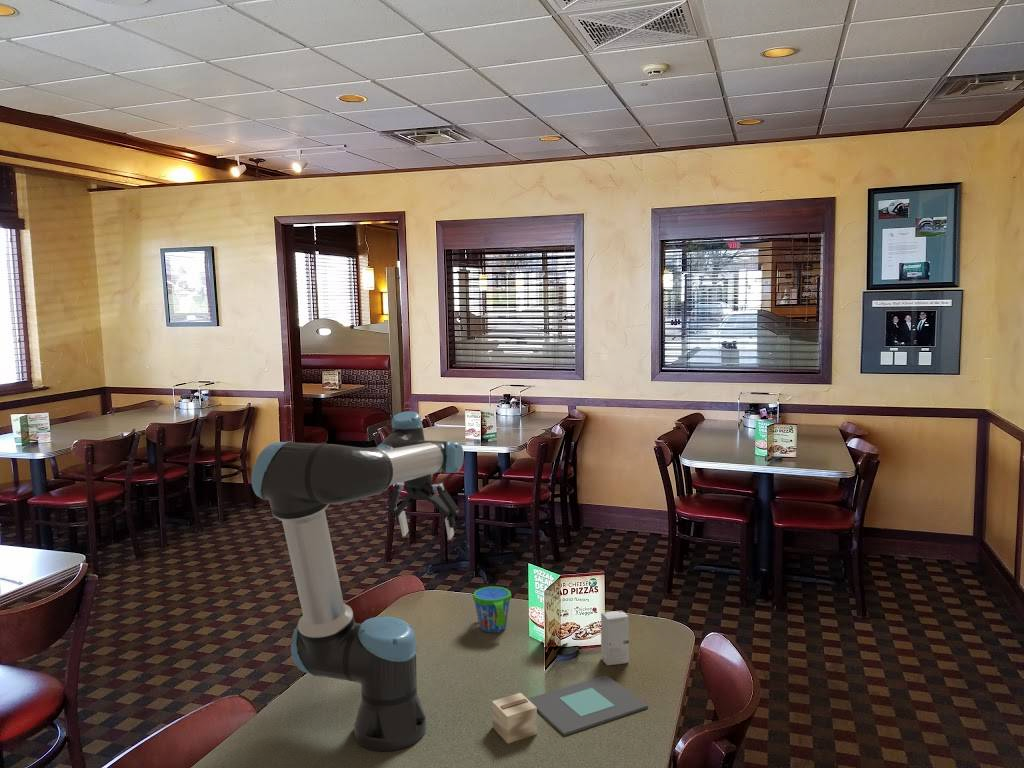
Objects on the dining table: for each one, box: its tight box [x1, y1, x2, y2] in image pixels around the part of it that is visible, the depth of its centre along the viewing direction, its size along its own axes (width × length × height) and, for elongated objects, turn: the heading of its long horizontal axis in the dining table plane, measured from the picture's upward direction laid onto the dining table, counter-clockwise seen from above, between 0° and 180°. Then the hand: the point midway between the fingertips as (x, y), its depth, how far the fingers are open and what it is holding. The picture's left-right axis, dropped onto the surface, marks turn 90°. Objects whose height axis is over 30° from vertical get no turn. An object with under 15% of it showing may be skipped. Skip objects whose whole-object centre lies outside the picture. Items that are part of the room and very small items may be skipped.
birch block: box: [491, 692, 538, 744], centre depth 158 cm, size 7×7×6 cm
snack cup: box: [472, 586, 512, 633], centre depth 209 cm, size 16×10×10 cm
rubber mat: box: [527, 674, 649, 737], centre depth 169 cm, size 22×16×1 cm
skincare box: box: [600, 610, 630, 666], centre depth 189 cm, size 6×4×12 cm
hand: (428, 535), depth 206 cm, fingers open, 13 cm apart
